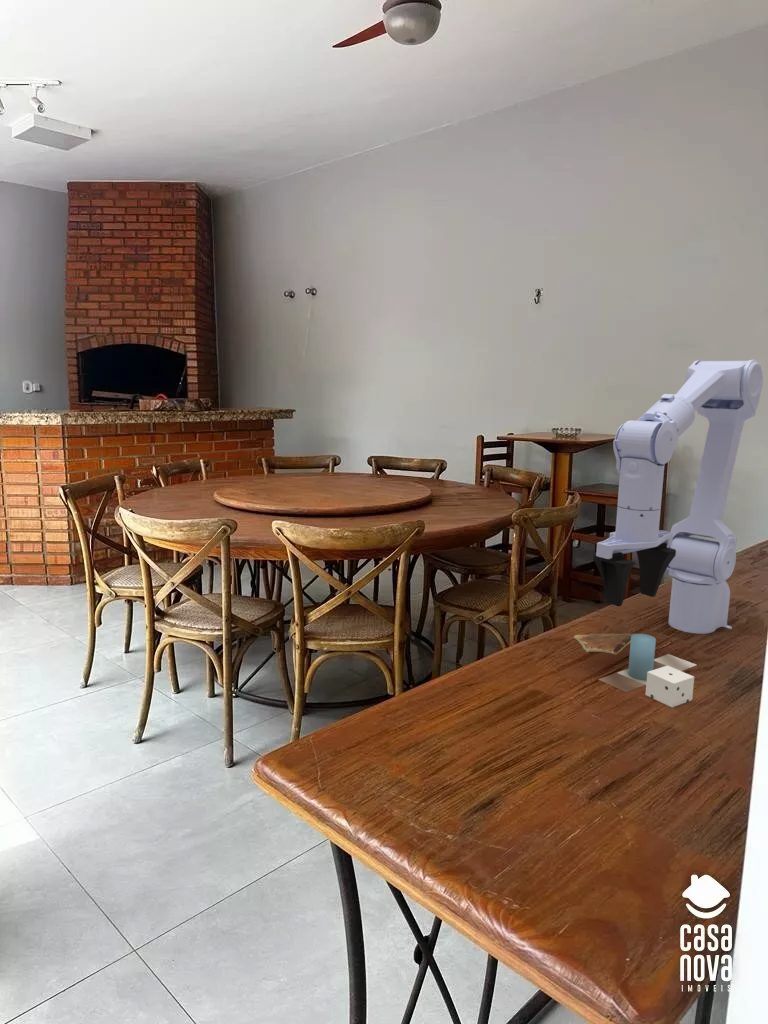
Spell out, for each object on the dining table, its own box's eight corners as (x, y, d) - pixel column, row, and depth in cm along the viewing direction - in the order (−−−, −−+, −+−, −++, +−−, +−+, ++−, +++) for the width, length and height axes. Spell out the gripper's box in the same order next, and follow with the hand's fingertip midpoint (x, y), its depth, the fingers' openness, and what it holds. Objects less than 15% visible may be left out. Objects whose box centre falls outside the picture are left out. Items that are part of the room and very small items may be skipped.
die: (664, 693, 92) (667, 664, 91) (692, 705, 88) (695, 676, 87) (644, 700, 90) (646, 671, 89) (671, 713, 86) (674, 683, 85)
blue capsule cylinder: (640, 668, 97) (643, 632, 96) (657, 677, 94) (661, 640, 93) (622, 672, 96) (626, 635, 95) (640, 682, 93) (643, 643, 92)
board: (667, 657, 103) (667, 653, 103) (698, 669, 99) (698, 665, 99) (596, 683, 94) (596, 678, 94) (627, 697, 90) (627, 692, 90)
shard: (637, 641, 110) (638, 631, 110) (659, 661, 103) (660, 650, 103) (571, 642, 110) (572, 632, 110) (588, 662, 102) (589, 651, 102)
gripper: (646, 497, 103) (639, 584, 106) (581, 507, 95) (575, 600, 98) (689, 505, 98) (680, 596, 100) (624, 516, 90) (616, 614, 92)
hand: (631, 599), depth 99 cm, fingers open, 7 cm apart
